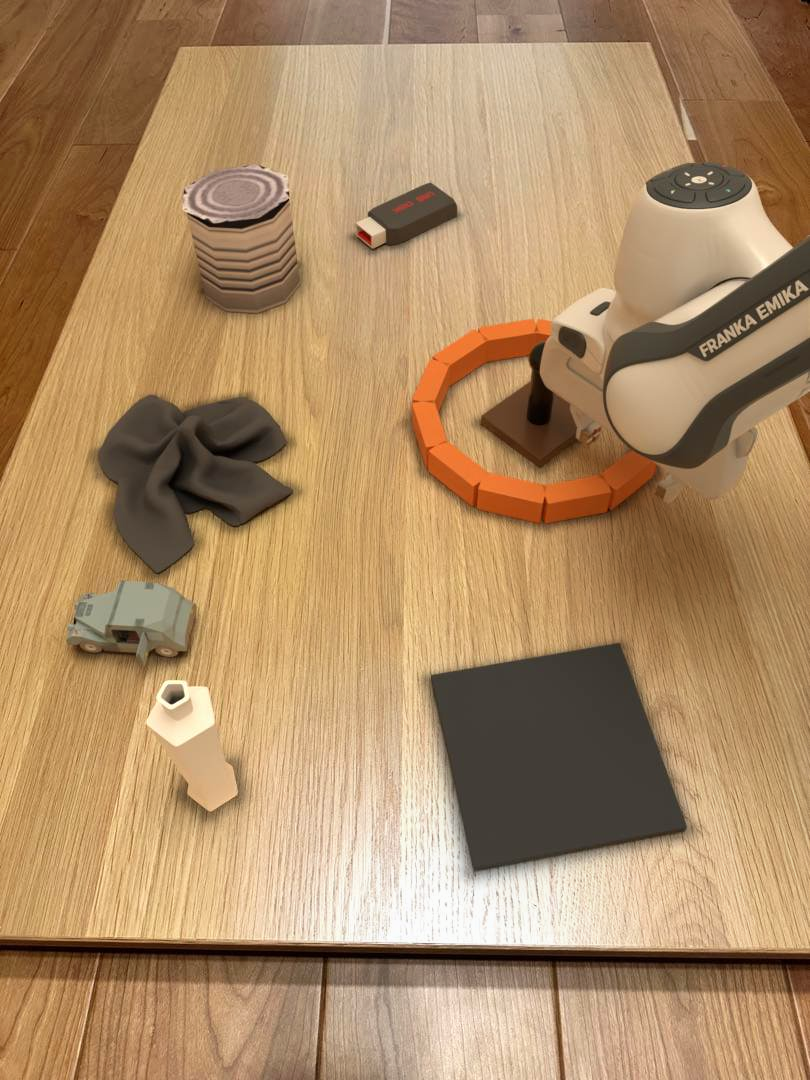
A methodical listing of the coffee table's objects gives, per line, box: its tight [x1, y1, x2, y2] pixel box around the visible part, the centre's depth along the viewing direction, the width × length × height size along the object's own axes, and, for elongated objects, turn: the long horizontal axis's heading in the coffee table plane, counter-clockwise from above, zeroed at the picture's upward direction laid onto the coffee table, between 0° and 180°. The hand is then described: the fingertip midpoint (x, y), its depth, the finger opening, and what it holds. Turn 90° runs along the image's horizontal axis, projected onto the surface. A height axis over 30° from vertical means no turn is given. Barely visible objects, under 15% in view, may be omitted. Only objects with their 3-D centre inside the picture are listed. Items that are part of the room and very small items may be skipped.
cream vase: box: [145, 679, 239, 812], centre depth 69 cm, size 5×4×15 cm
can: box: [181, 164, 301, 315], centre depth 107 cm, size 11×11×12 cm
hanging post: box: [480, 341, 578, 468], centre depth 93 cm, size 8×8×10 cm
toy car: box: [65, 580, 198, 668], centre depth 81 cm, size 6×10×5 cm, turn 86°
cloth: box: [97, 394, 293, 574], centre depth 92 cm, size 22×19×6 cm
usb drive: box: [354, 182, 458, 249], centre depth 116 cm, size 5×12×3 cm, turn 127°
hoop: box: [411, 318, 658, 524], centre depth 96 cm, size 24×24×3 cm
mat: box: [430, 642, 688, 872], centre depth 76 cm, size 16×16×1 cm
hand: (625, 466), depth 90 cm, fingers open, 8 cm apart
